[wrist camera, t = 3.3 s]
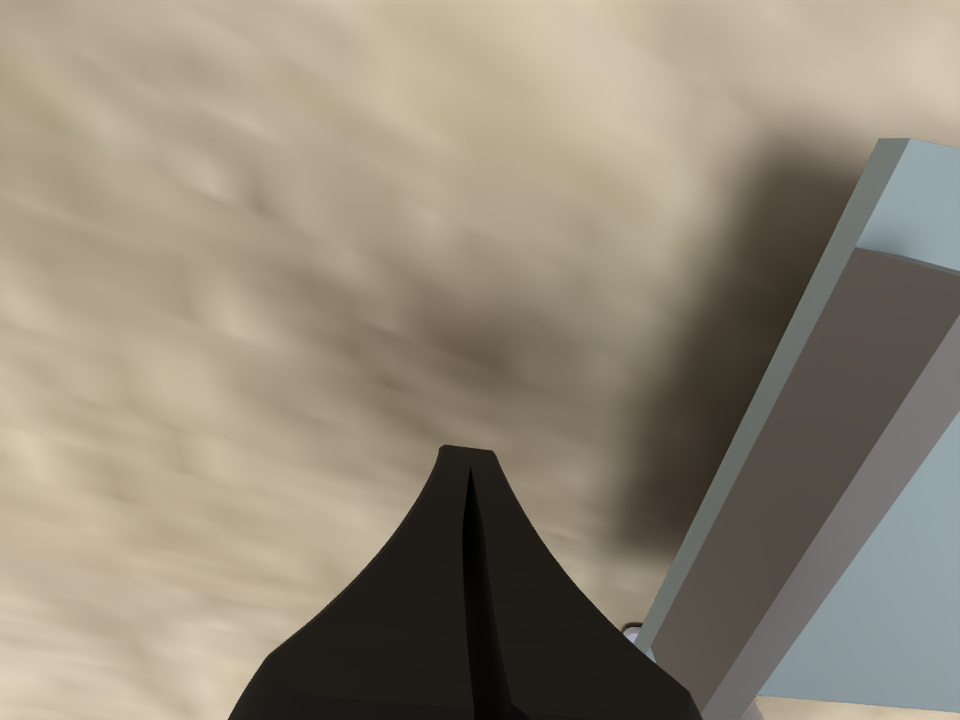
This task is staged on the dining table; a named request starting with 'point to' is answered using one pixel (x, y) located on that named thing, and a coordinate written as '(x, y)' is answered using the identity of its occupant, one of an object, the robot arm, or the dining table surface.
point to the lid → (840, 477)
